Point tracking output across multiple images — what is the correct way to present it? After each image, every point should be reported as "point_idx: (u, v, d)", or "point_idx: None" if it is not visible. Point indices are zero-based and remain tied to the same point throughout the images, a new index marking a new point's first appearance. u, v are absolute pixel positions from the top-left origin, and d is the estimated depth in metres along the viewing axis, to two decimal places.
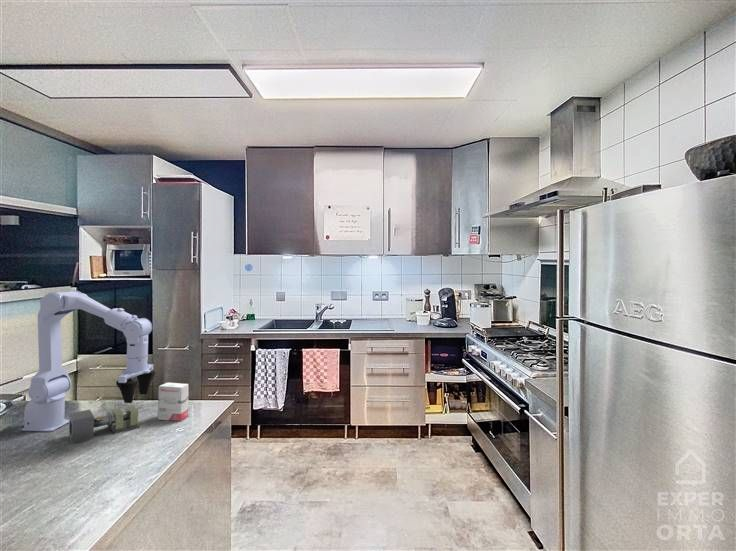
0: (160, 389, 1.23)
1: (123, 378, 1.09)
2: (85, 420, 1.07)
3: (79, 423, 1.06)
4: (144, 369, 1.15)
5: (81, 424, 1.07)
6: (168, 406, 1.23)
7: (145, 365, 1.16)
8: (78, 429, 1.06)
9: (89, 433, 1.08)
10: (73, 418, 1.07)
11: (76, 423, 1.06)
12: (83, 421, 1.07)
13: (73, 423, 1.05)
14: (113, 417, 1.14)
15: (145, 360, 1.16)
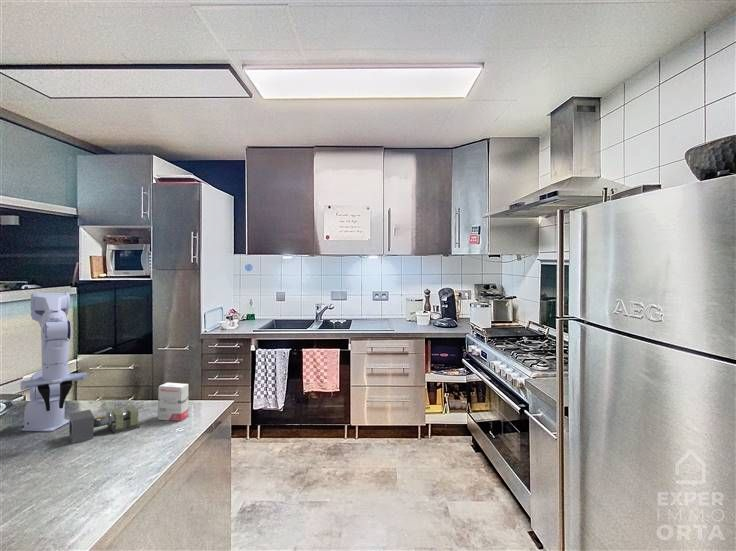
0: (160, 389, 1.23)
1: None
2: (85, 420, 1.07)
3: (79, 423, 1.06)
4: (53, 378, 1.02)
5: (81, 424, 1.07)
6: (168, 406, 1.23)
7: (55, 374, 1.03)
8: (78, 429, 1.06)
9: (89, 433, 1.08)
10: (73, 418, 1.07)
11: (76, 423, 1.06)
12: (83, 421, 1.07)
13: (73, 423, 1.05)
14: (113, 417, 1.14)
15: (56, 369, 1.03)
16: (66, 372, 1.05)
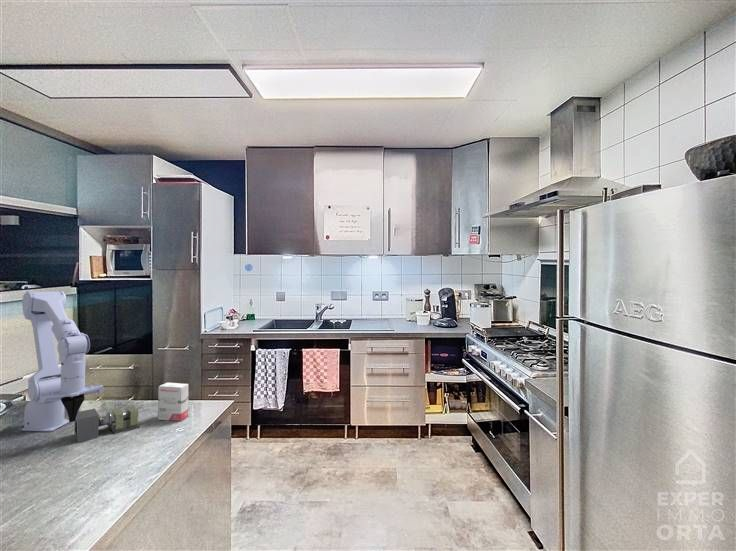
0: (160, 389, 1.23)
1: (40, 398, 1.02)
2: (90, 419, 1.08)
3: (84, 422, 1.07)
4: (71, 391, 1.05)
5: (86, 423, 1.08)
6: (168, 406, 1.23)
7: (73, 387, 1.06)
8: (83, 427, 1.07)
9: (94, 432, 1.09)
10: (78, 417, 1.08)
11: (81, 422, 1.07)
12: (88, 420, 1.08)
13: (78, 422, 1.06)
14: (113, 417, 1.14)
15: (74, 382, 1.06)
16: (83, 385, 1.08)
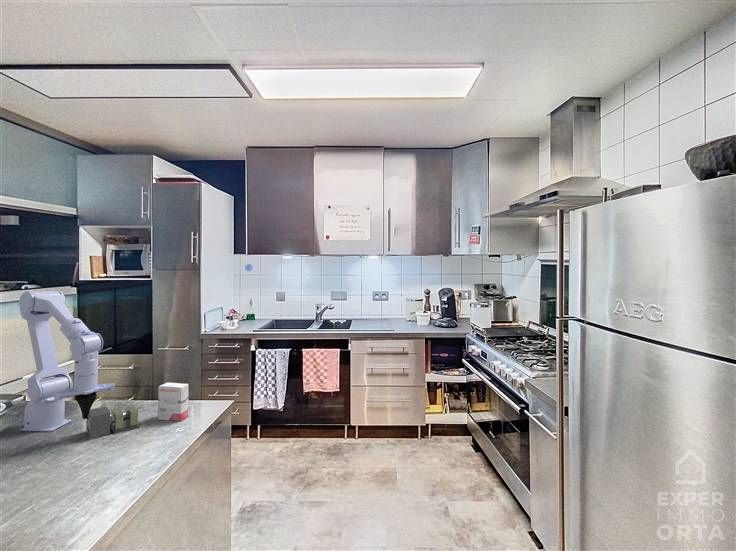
0: (160, 389, 1.23)
1: (54, 396, 1.04)
2: (102, 416, 1.10)
3: (97, 419, 1.09)
4: (85, 389, 1.08)
5: (98, 420, 1.10)
6: (168, 406, 1.23)
7: (86, 385, 1.08)
8: (95, 425, 1.09)
9: (106, 429, 1.11)
10: (91, 414, 1.10)
11: (94, 419, 1.09)
12: (100, 417, 1.10)
13: (91, 419, 1.08)
14: (113, 417, 1.14)
15: (87, 380, 1.08)
16: (96, 383, 1.10)
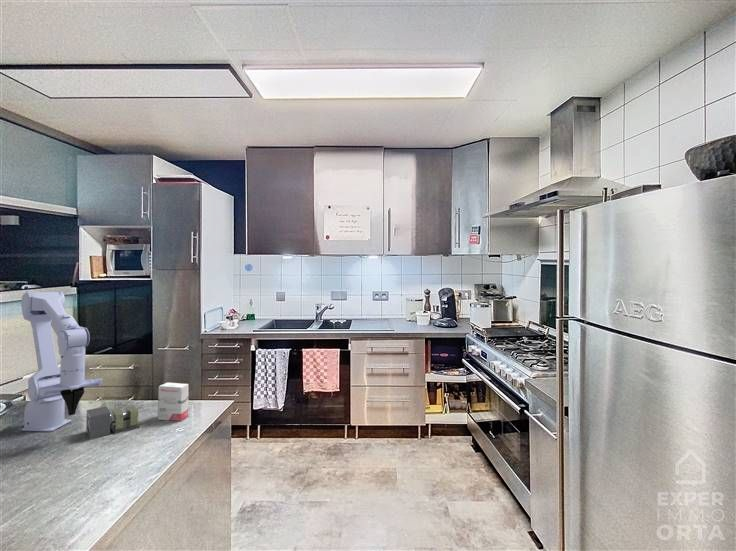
0: (160, 389, 1.23)
1: (39, 391, 1.02)
2: (102, 416, 1.10)
3: (97, 419, 1.09)
4: (71, 384, 1.05)
5: (98, 420, 1.10)
6: (168, 406, 1.23)
7: (73, 380, 1.05)
8: (95, 425, 1.09)
9: (106, 429, 1.11)
10: (91, 414, 1.10)
11: (94, 419, 1.09)
12: (100, 417, 1.10)
13: (91, 419, 1.08)
14: (113, 417, 1.14)
15: (73, 375, 1.05)
16: (83, 378, 1.08)
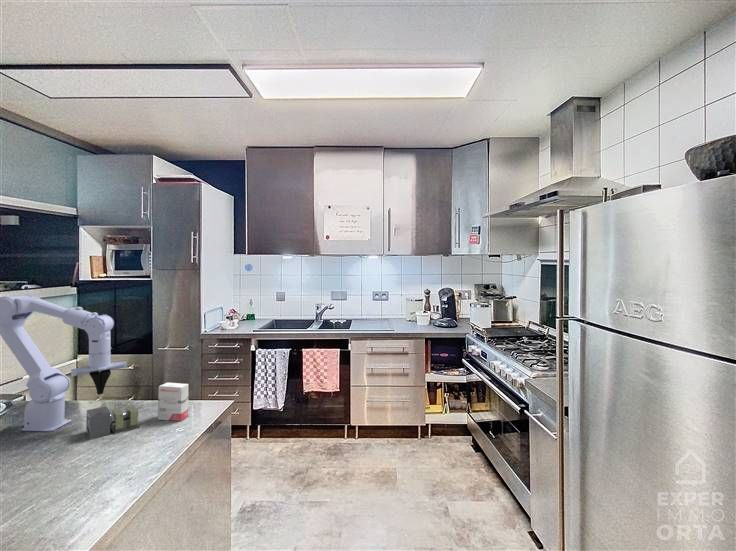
0: (160, 389, 1.23)
1: (71, 372, 1.12)
2: (102, 416, 1.10)
3: (97, 419, 1.09)
4: (99, 366, 1.15)
5: (98, 420, 1.10)
6: (168, 406, 1.23)
7: (100, 362, 1.16)
8: (95, 425, 1.09)
9: (106, 429, 1.11)
10: (91, 414, 1.10)
11: (94, 419, 1.09)
12: (100, 417, 1.10)
13: (91, 419, 1.08)
14: (113, 417, 1.14)
15: (101, 358, 1.16)
16: (109, 361, 1.18)
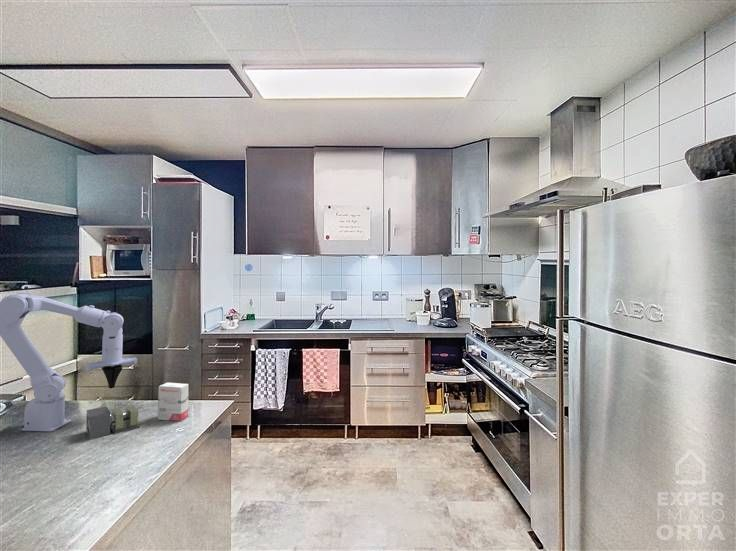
0: (160, 389, 1.23)
1: (86, 367, 1.18)
2: (102, 416, 1.10)
3: (97, 419, 1.09)
4: (111, 361, 1.22)
5: (98, 420, 1.10)
6: (168, 406, 1.23)
7: (113, 358, 1.22)
8: (95, 425, 1.09)
9: (106, 429, 1.11)
10: (91, 414, 1.10)
11: (94, 419, 1.09)
12: (100, 417, 1.10)
13: (91, 419, 1.08)
14: (113, 417, 1.14)
15: (113, 353, 1.22)
16: (121, 356, 1.24)
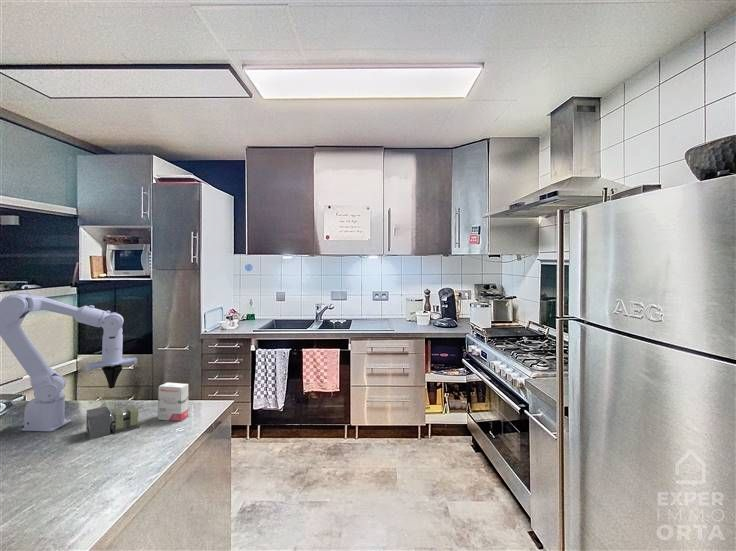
0: (160, 389, 1.23)
1: (86, 367, 1.18)
2: (102, 416, 1.10)
3: (97, 419, 1.09)
4: (111, 361, 1.22)
5: (98, 420, 1.10)
6: (168, 406, 1.23)
7: (113, 358, 1.22)
8: (95, 425, 1.09)
9: (106, 429, 1.11)
10: (91, 414, 1.10)
11: (94, 419, 1.09)
12: (100, 417, 1.10)
13: (91, 419, 1.08)
14: (113, 417, 1.14)
15: (113, 353, 1.22)
16: (121, 356, 1.24)
